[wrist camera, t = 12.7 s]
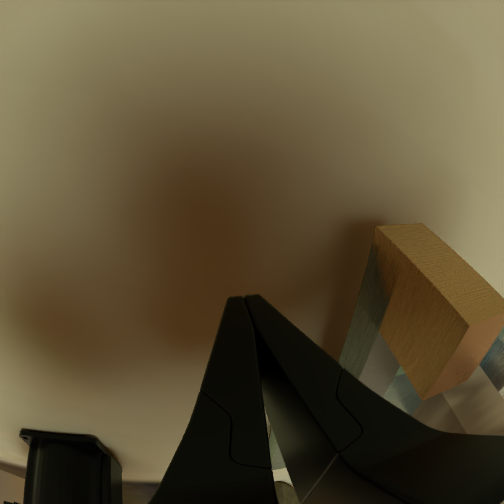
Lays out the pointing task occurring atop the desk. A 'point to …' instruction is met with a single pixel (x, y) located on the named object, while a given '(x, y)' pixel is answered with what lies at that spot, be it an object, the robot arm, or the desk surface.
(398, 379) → the frosted green glass slab
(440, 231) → the desk surface
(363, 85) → the desk surface
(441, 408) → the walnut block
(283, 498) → the stone block
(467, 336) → the light brown wooden block
